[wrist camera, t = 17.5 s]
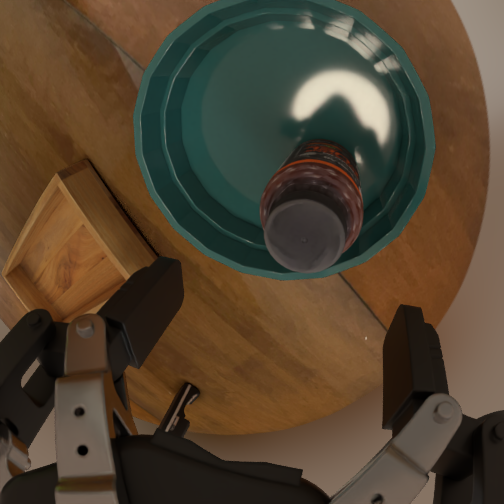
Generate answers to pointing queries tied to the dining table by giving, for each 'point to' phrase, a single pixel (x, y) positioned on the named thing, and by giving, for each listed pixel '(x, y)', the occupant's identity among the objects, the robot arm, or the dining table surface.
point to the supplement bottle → (312, 207)
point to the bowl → (279, 122)
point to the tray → (74, 247)
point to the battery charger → (179, 411)
